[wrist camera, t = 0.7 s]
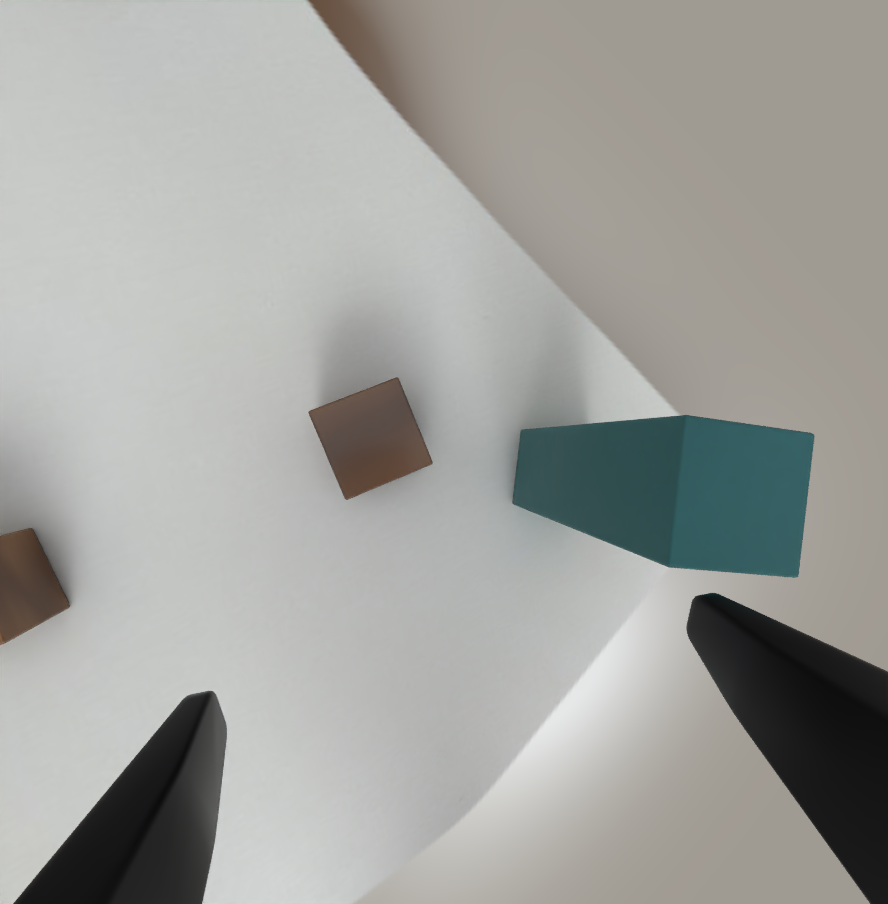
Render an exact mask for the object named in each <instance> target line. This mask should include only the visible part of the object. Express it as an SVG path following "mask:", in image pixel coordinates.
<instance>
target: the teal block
mask: <svg viewBox="0 0 888 904" xmlns="http://www.w3.org/2000/svg"><path fill="white" fill-rule="evenodd" d="M813 444H814V434H812V433H808V432H800V431H793V430H786V429H780V428H772V427H766V426H759V425H751V424H745V423H738V422H730V421H724V420H717V419H710V418H703V417H696V416H689V415H683V416H671V417H660V418H649V419H638V420H626V421H615V422H604V423H593V424H581V425H570V426H559V427H548V428H536V429H525V430H521V435H520V444H519V452H518V461H517V470H516V478H515V487H514V495H513V504H514V505H517V506H519V507H521V508H524V509H526V510H529V511H531V512H534V513H536V514H539V515H541V516H544V517H546V518H549V519H551V520H554V521H556V522H558V523H561V524H563V525H566V526H568V527H571V528H573V529H576V530H578V531H581V532H583V533H586V534H588V535H591V536H593V537H596V538H598V539H600V540H603V541H605V542H608V543H610V544H613V545H615V546H618V547H620V548H623V549H625V550H628V551H630V552H633V553H635V554H637V555H640V556H642V557H645V558H647V559H650V560H652V561H655V562H657V563H660V564H662V565H665V566H667V567H671V568H684V569H696V570H708V571H721V572H733V573H745V574H758V575H770V576H782V577H798V574H799V566H800V557H801V556H800V555H801V548H802V540H803V531H804V522H805V513H806V505H807V496H808V486H809V479H810V470H811V460H812V452H813Z"/></svg>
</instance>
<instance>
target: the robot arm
mask: <svg viewBox="0 0 888 904" xmlns="http://www.w3.org/2000/svg"><path fill="white" fill-rule="evenodd" d="M687 634H688V637H689V639H690V641H691V643H692V644H693V646H694V648H695V650H696V651H697V653H698V655H699V656H700V658H701V660H702V661H703V663H704V665H705V666H706V668H707V670H708V671H709V673H710V675H711V676H712V678H713V680H714V681H715V683H716V685H717V686H718V688H719V690H720V692H721V693H722V695H723V697H724V698H725V700H726V702H727V703H728V705H729V706H730V708H731V710H732V711H733V713H734V714H735V716H736V717H737V719H738V720H739V722H740V723H741V724H742V726H743V727H744V729H745V730H746V731H747V733H748V734H749V736H750V737H751V738H752V740H753V741H754V743H755V744H756V745H757V747H758V748H759V750H760V751H761V752H762V754H763V755H764V756H765V758H766V759H767V761H768V762H769V763H770V765H771V766H772V768H773V769H774V770H775V772H776V773H777V775H778V776H779V777H780V779H781V780H782V782H783V783H784V784H785V786H786V787H787V788H788V790H789V791H790V793H791V794H792V795H793V797H794V798H795V800H796V801H797V802H798V804H799V805H800V807H801V808H802V809H803V811H804V812H805V813H806V815H807V816H808V818H809V819H810V820H811V822H812V823H813V825H814V826H815V827H816V829H817V830H818V832H819V833H820V834H821V836H822V837H823V839H824V840H825V841H826V843H827V844H828V846H829V847H830V848H831V850H832V851H833V852H834V854H835V855H836V857H837V858H838V859H839V861H840V862H841V864H842V865H843V866H844V867H845V869H846V871H847V872H848V873H849V875H850V876H851V877H852V879H853V880H854V882H855V883H856V884H857V886H858V887H859V888H860V890H861V891H862V893H863V894H864V895H865V897H866V898H867V900H868V901H869V903H870V904H888V672H887V671H885V670H883V669H881V668H879V667H877V666H874V665H872V664H870V663H868V662H866V661H863V660H861V659H859V658H857V657H855V656H852V655H850V654H848V653H846V652H844V651H842V650H839V649H837V648H835V647H833V646H831V645H829V644H826V643H824V642H822V641H820V640H818V639H815V638H813V637H811V636H809V635H806V634H804V633H802V632H800V631H797V630H796V629H793V628H791V627H789V626H787V625H785V624H782V623H780V622H778V621H776V620H774V619H772V618H770V617H767V616H765V615H763V614H761V613H758V612H756V611H754V610H752V609H750V608H748V607H745V606H743V605H741V604H739V603H737V602H735V601H732V600H730V599H728V598H726V597H724V596H721V595H719V594H716V593H709V594H704V595H699V596H696V597H695V598H694V599H693V600H692V604H691V609H690V613H689V617H688V622H687ZM226 740H227V727H226V722H225V719H224V716H223V713H222V710H221V707H220V704H219V702H218V699H217V696H216V694H215V693H214V692H213V691H206V692H201V693H196V694H191V695H188V696H187V697H185V698H184V699H183V700H182V701H181V702H180V704H179V705H178V706H177V707H176V709H175V710H174V711H173V712H172V713H171V715H170V716H169V717H168V718H167V719H166V721H165V722H164V723H163V724H162V725H161V727H160V728H159V729H158V730H157V731H156V733H155V734H154V735H153V736H152V737H151V739H150V740H149V741H148V742H147V743H146V745H145V746H144V747H143V748H142V749H141V751H140V752H139V753H138V754H137V755H136V757H135V758H134V759H133V760H132V761H131V763H130V764H129V765H128V766H127V767H126V769H125V770H124V771H123V772H122V773H121V775H120V776H119V777H118V778H117V779H116V781H115V782H114V783H113V784H112V786H111V787H110V788H109V789H108V790H107V792H106V793H105V794H104V795H103V796H102V798H101V799H100V800H99V801H98V802H97V804H96V805H95V806H94V807H93V808H92V810H91V811H90V812H89V813H88V814H87V816H86V817H85V818H84V819H83V820H82V822H81V823H80V824H79V825H78V826H77V828H76V829H75V830H74V831H73V832H72V834H71V835H70V836H69V837H68V838H67V840H66V841H65V842H64V843H63V844H62V846H61V847H60V848H59V849H58V850H57V852H56V853H55V854H54V855H53V856H52V858H51V859H50V860H49V861H48V863H47V864H46V865H45V866H44V867H43V869H42V870H41V871H40V872H39V873H38V875H37V876H36V877H35V878H34V879H33V881H32V882H31V883H30V884H29V885H28V887H27V888H26V889H25V890H24V891H23V893H22V894H21V895H20V896H19V897H18V899H17V900H16V901H15V902H14V903H13V904H202V901H203V897H204V892H205V887H206V883H207V878H208V873H209V869H210V864H211V859H212V854H213V848H214V843H215V836H216V828H217V820H218V811H219V802H220V793H221V784H222V775H223V766H224V757H225V748H226Z"/></svg>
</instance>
